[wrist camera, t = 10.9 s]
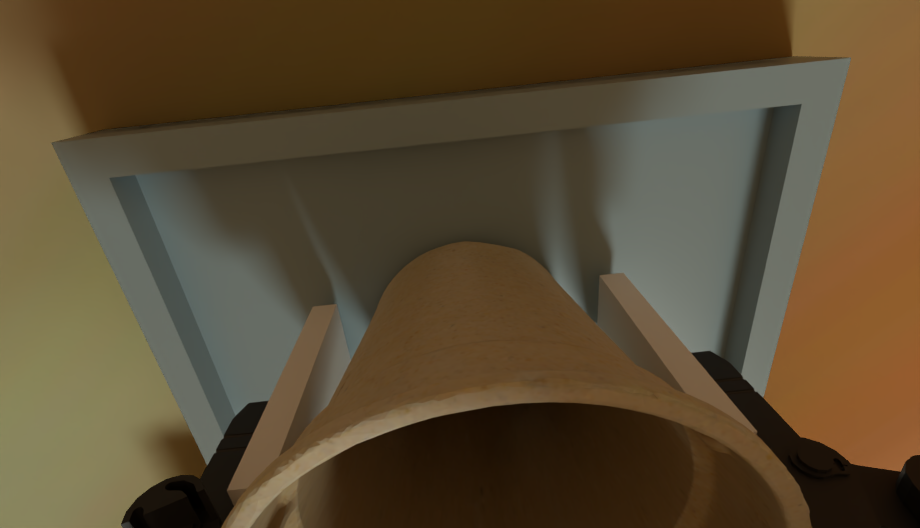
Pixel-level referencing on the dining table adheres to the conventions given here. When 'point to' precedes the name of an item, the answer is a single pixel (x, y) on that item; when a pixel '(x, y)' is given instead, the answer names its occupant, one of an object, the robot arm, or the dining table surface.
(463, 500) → the flower pot
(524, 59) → the dining table surface
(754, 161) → the tray
